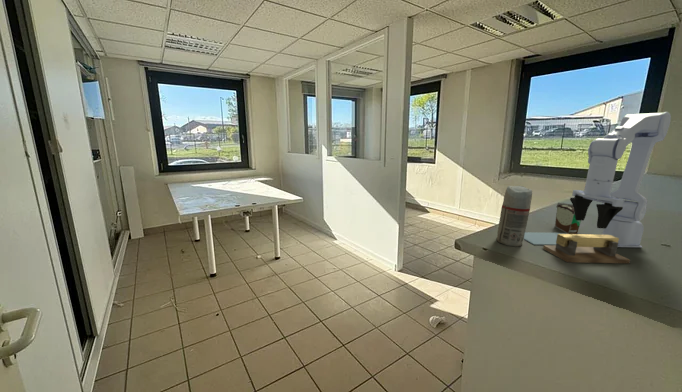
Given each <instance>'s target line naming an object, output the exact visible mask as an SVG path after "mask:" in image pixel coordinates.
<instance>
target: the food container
mask: <svg viewBox="0 0 682 392" xmlns="http://www.w3.org/2000/svg"><path fill="white" fill-rule="evenodd" d="M555 214H556V215H555V221H554V222H555V223H554V228H557V229H559V231H560V230H561V231H562V232H563V233H567V234H578V232H579V229H580V225H581V224H582V220H576V219H575V212H574V207H573V204H572V203H564V202H558V203H557V204H556V213H555Z"/></svg>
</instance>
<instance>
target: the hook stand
mask: <svg viewBox="0 0 682 392" xmlns="http://www.w3.org/2000/svg"><path fill="white" fill-rule="evenodd" d="M618 248H619V247H618V243H617V242H610V243H609V247H577V242H576V241H569V245H568V247H563V246H561V245H559V244H557V243H556V245H542V249H543V250H545V251H547V252H548V253H550V254H552V255H553V256H555V257H558V259H561V260H562V261H565V262H566V263H582V264H583V263H590V264H591V263H593V264H596V263H597V264H630V262H631V259H630V258H627V257H625V256H622V255H620V254H618V253H617V251H618Z"/></svg>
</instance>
